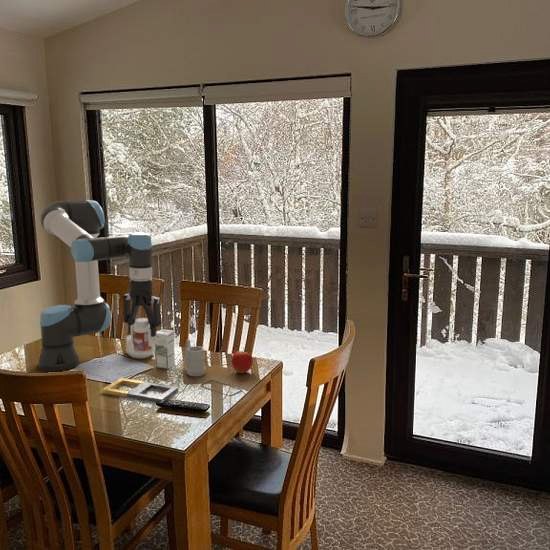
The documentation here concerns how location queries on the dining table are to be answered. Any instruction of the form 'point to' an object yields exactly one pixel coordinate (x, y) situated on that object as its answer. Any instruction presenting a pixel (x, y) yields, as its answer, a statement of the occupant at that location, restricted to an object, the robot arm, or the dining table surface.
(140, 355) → the teapot
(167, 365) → the syrup box
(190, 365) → the mug
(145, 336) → the pill bottle
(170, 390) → the multicoloured piece
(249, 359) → the apple
